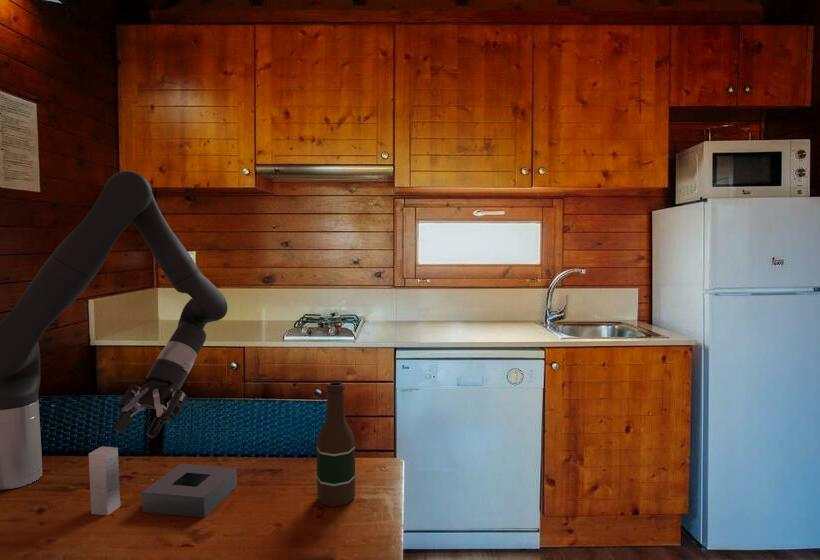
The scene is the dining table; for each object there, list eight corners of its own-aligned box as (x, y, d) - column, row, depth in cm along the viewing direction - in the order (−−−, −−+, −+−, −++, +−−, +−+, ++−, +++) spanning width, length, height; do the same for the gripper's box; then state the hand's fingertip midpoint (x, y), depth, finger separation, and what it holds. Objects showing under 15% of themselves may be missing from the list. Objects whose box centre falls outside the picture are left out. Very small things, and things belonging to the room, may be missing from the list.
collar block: (142, 511, 104) (141, 492, 104) (181, 481, 117) (180, 463, 117) (204, 517, 102) (203, 497, 102) (236, 486, 115) (236, 468, 115)
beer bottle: (309, 498, 110) (308, 383, 108) (338, 485, 115) (338, 376, 113) (333, 512, 105) (332, 391, 102) (363, 497, 110) (362, 383, 108)
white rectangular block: (91, 513, 103) (88, 453, 102) (104, 504, 107) (101, 446, 106) (107, 515, 103) (105, 454, 102) (120, 506, 106) (117, 447, 105)
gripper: (137, 354, 120) (95, 421, 110) (189, 359, 115) (150, 430, 106) (157, 372, 125) (118, 437, 116) (207, 377, 121) (171, 446, 111)
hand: (133, 433), depth 111 cm, fingers open, 8 cm apart
